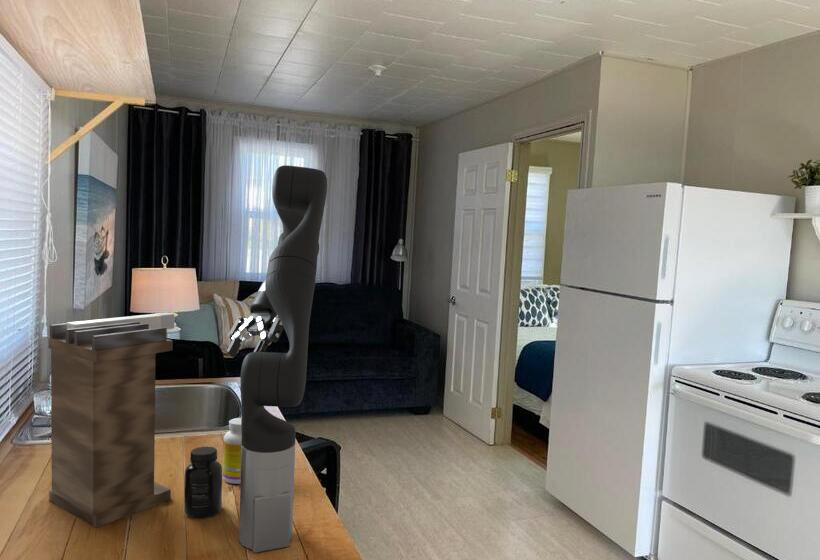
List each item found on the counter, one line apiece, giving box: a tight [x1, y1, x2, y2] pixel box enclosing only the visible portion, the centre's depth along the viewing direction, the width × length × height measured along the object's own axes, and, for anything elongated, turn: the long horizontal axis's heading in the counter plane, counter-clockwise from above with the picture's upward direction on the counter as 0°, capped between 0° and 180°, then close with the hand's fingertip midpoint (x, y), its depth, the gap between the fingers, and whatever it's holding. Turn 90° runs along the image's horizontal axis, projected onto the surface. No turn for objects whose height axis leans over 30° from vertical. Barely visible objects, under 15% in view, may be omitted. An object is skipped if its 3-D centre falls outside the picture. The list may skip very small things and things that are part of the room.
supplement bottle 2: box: [222, 417, 242, 485], centre depth 132 cm, size 7×7×13 cm
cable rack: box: [47, 322, 174, 528], centre depth 119 cm, size 15×17×34 cm
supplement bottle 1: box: [183, 446, 223, 520], centre depth 117 cm, size 7×7×12 cm
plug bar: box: [66, 311, 175, 330], centre depth 124 cm, size 21×3×3 cm, turn 145°
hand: (243, 356), depth 139 cm, fingers open, 8 cm apart
